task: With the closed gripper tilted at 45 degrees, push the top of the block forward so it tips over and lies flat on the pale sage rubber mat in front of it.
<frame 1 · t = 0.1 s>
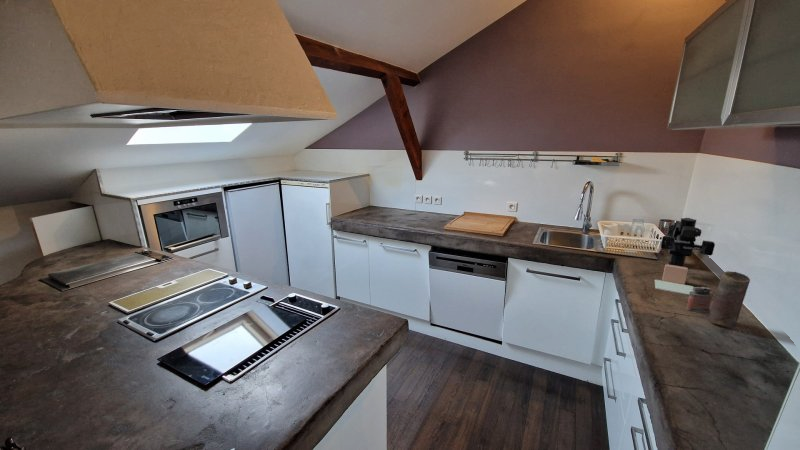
hand: (688, 250, 148), 17 cm above the worktop, tool horizontal, fingers open, 9 cm apart
mat: (674, 287, 149), on the worktop
rusty brown metal cylinder: (721, 324, 122), on the worktop
block: (673, 282, 155), on the worktop
lighter: (697, 310, 132), on the worktop
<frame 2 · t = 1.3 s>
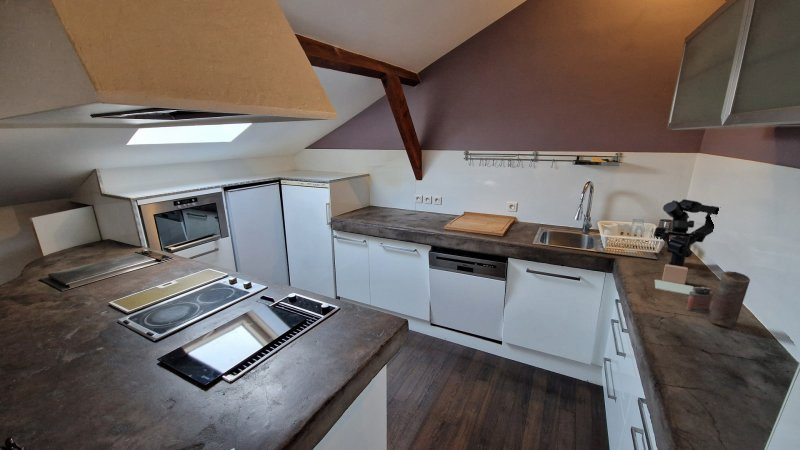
hand: (677, 249, 157), 14 cm above the worktop, tool tilted 45°, fingers open, 6 cm apart
nothing on the worktop moved.
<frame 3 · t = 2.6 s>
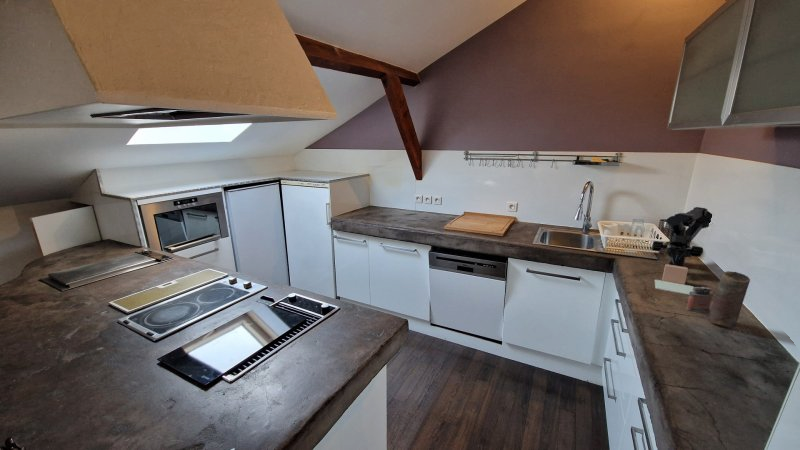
hand: (674, 264, 157), 7 cm above the worktop, tool tilted 45°, fingers closed
nothing on the worktop moved.
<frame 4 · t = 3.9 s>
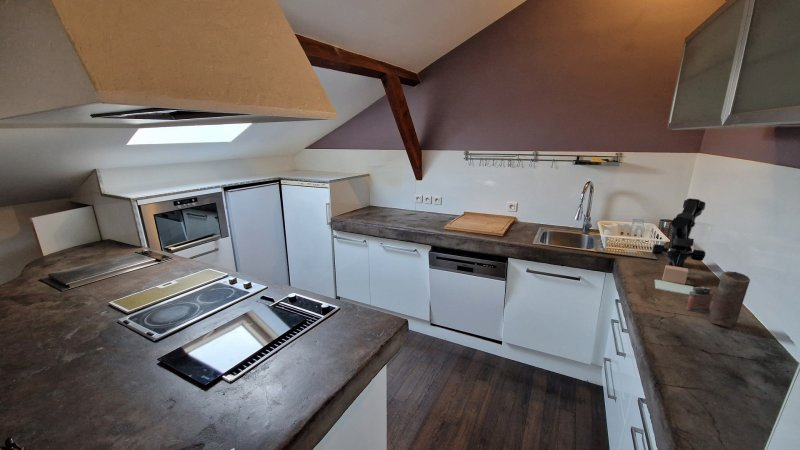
hand: (676, 268, 152), 7 cm above the worktop, tool tilted 45°, fingers closed, pressing on block
block: (673, 281, 154), on the worktop, tilted 16°, touching gripper
everything else where it was.
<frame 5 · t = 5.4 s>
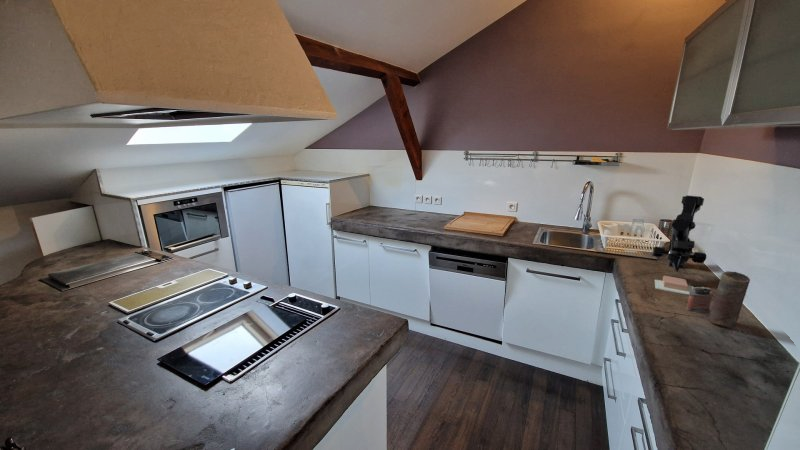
hand: (676, 271, 150), 7 cm above the worktop, tool tilted 45°, fingers closed
block: (673, 279, 153), point 2 cm above the worktop, tilted 90°, touching mat
everything else where it was.
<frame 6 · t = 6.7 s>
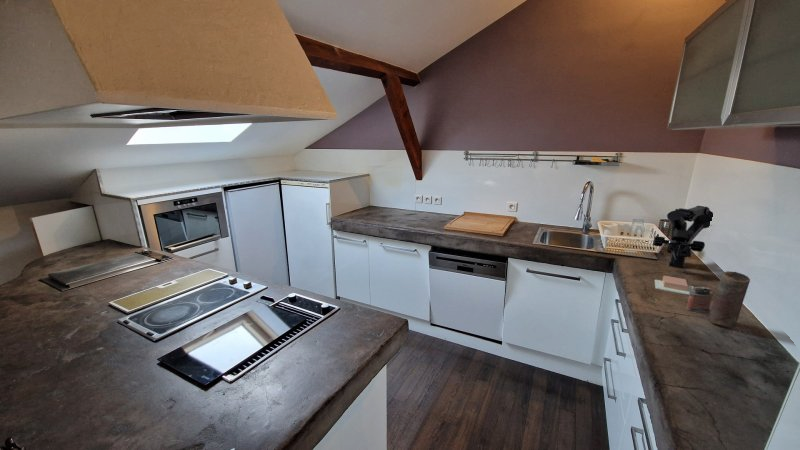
hand: (676, 259, 156), 10 cm above the worktop, tool tilted 45°, fingers closed
nothing on the worktop moved.
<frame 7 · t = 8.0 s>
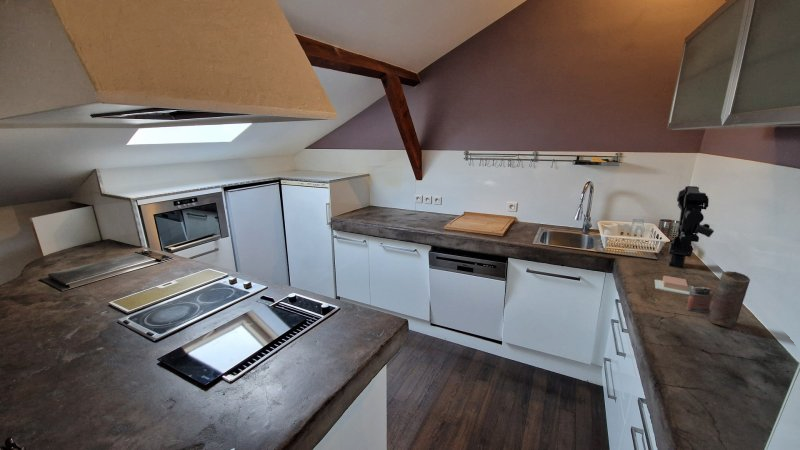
hand: (684, 250, 158), 13 cm above the worktop, tool pointing down, fingers closed
nothing on the worktop moved.
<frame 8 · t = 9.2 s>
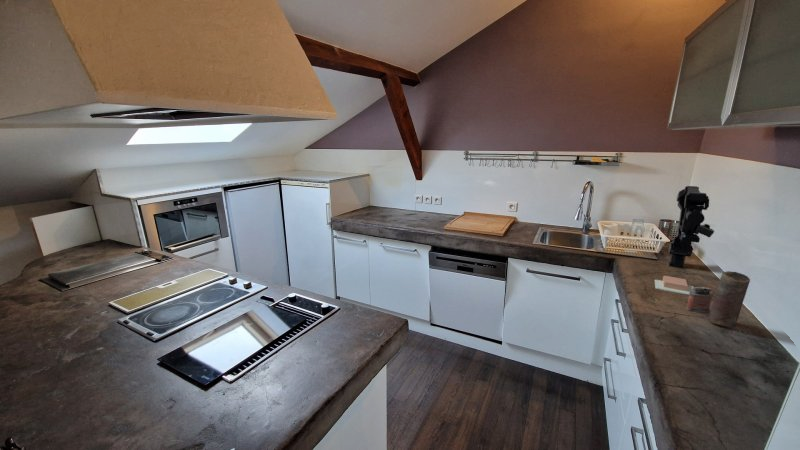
hand: (684, 250, 158), 13 cm above the worktop, tool pointing down, fingers closed
nothing on the worktop moved.
at the end: block tilted 90°; block touching mat; block inside the target area (1.5 cm from its centre), point 1.6 cm above the worktop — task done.
